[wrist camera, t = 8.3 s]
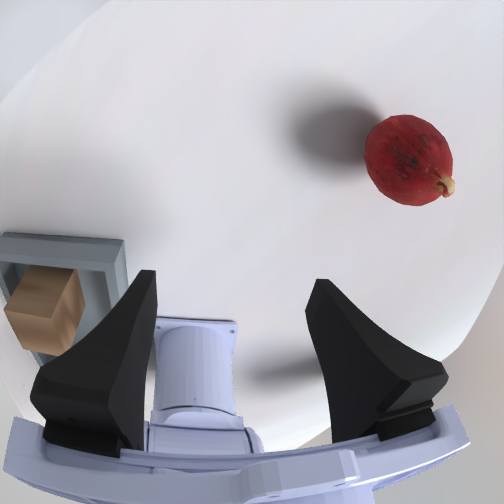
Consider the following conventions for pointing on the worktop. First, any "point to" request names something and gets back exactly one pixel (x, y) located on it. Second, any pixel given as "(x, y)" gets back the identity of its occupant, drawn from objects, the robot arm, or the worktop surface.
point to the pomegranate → (409, 160)
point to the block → (46, 309)
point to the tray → (74, 257)
